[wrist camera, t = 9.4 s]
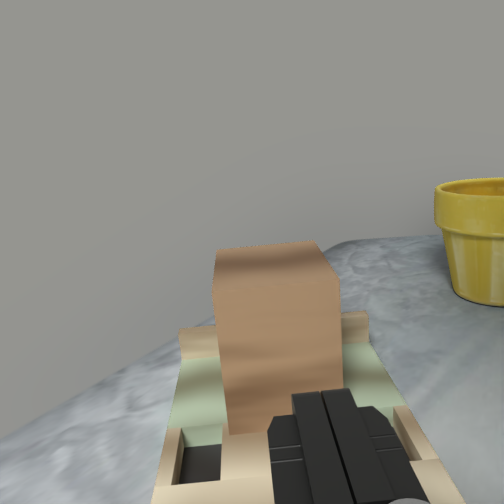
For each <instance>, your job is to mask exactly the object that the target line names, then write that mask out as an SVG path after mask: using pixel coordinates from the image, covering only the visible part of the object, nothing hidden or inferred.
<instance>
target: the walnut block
mask: <svg viewBox="0 0 504 504" xmlns="http://www.w3.org/2000/svg"><path fill="white" fill-rule="evenodd" d="M212 297H213V306H214V314H215V322H216V330H217V339H218V347H219V355H220V363H221V371H222V379H223V387H224V396H225V404H226V412H227V420H228V428H229V435H239V434H248V433H258V432H267V430H268V428H269V426H270V424H271V421H272V419H273V417H274V416H282V415H291V414H292V402H291V394H295V393H305V392H314V391H319V392H320V391H322V390H332V389H341V388H343V364H342V336H341V307H340V279H339V278H338V276H337V275H336V273H335V272H334V270H333V269H332V267H331V266H330V264H329V263H328V261H327V260H326V258H325V257H324V255H323V254H322V252H321V251H320V249H319V248H318V246H317V245H316V243H315V242H314V241H313V240H312V241H302V242H293V243H281V244H271V245H261V246H251V247H240V248H230V249H220V250H217V252H216V260H215V268H214V277H213V286H212Z"/></svg>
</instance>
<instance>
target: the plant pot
mask: <svg viewBox="0 0 504 504" xmlns="http://www.w3.org/2000/svg"><path fill="white" fill-rule="evenodd" d="M434 197H435V198H434V220H435V224H436V225H437V226H438V227H440V228H441V229H442V232H443V238H444V243H445V248H446V253H447V259H448V264H449V269H450V274H451V279H452V284H453V289H454V291H455V292H456V294H458V295H459V296H460V297H462V298H464V299H466V300H469V301H472V302H475V303H479V304H484V305H490V306H502V307H504V178H479V179H468V180H458V181H452V182H447V183H444V184H441V185H438V186H437V187H436V188H435V196H434Z"/></svg>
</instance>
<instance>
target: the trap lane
mask: <svg viewBox="0 0 504 504" xmlns="http://www.w3.org/2000/svg"><path fill="white" fill-rule="evenodd" d="M178 336H179V343H180V349H181V356H182V363H181V367H180V372H179V377H178V381H177V386H176V390H175V395H174V399H173V404H172V409H171V413H170V418H169V422H168V427H167V432H166V436H165V441H164V445H163V450H162V454H161V459H160V464H159V468H158V473H157V477H156V482H155V487H154V491H153V496H152V500H151V504H275V503H274V494H273V484H272V474H271V465H270V455H269V445H268V436H267V432H258V433H248V434H239V435H229V428H228V420H227V412H226V404H225V396H224V387H223V379H222V371H221V363H220V355H219V347H218V339H217V330H216V325H212V326H202V327H192V328H182V329H179V333H178ZM341 336H342V364H343V388H349V389H350V391H351V393H352V396H353V398H354V400H355V403H356V405H357V407H365V406H374V407H375V408H376V409H377V410H378V411H380V412H381V413H382V414H383V415H384V416H386V417H387V418H388V420H389V422H390V424H391V426H392V428H393V430H394V432H395V436H396V437H397V438H398V440H399V442H400V444H401V446H402V450H404V452H405V454H406V456H407V458H408V460H409V462H410V464H411V466H412V468H413V470H414V472H415V474H416V476H417V478H418V480H419V482H420V484H421V486H422V488H423V490H424V492H425V494H426V496H427V498H428V500H429V501H430V503H431V504H466V503H465V501H464V499H463V498H462V496H461V494H460V493H459V491H458V489H457V488H456V486H455V484H454V483H453V481H452V479H451V478H450V476H449V474H448V473H447V471H446V469H445V468H444V466H443V464H442V463H441V461H440V459H439V458H438V456H437V454H436V453H435V451H434V449H433V448H432V446H431V444H430V443H429V441H428V439H427V438H426V436H425V434H424V433H423V431H422V429H421V428H420V426H419V424H418V423H417V421H416V419H415V418H414V416H413V414H412V413H411V411H410V409H409V408H408V406H407V404H406V403H405V401H404V399H403V398H402V396H401V394H400V393H399V391H398V389H397V388H396V386H395V384H394V383H393V381H392V379H391V378H390V376H389V374H388V373H387V371H386V369H385V368H384V366H383V364H382V363H381V361H380V359H379V358H378V356H377V354H376V353H375V351H374V349H373V348H372V346H371V344H370V343H369V316H368V314H367V312H366V311H356V312H346V313H341Z"/></svg>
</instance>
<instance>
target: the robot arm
mask: <svg viewBox="0 0 504 504" xmlns="http://www.w3.org/2000/svg"><path fill="white" fill-rule="evenodd" d="M291 402H292V414H291V415H282V416H274V417H273V419H272V421H271V424H270V426H269V428H268V430H267V436H268V445H269V455H270V465H271V474H272V484H273V494H274V503H275V504H431V503H430V501H429V500H428V498H427V496H426V494H425V492H424V490H423V488H422V486H421V484H420V482H419V480H418V478H417V476H416V474H415V472H414V470H413V468H412V466H411V464H410V462H409V460H408V458H407V456H406V454H405V452H404V450H402V446H401V444H400V442H399V440H398V438H397V437H396V436H395V432H394V430H393V428H392V426H391V424H390V422H389V420H388V418H387V417H386V416H384V415H383V414H382V413H381V412H380V411H378V410H377V409H376V408H375V407H374V406H365V407H357V405H356V403H355V400H354V398H353V396H352V393H351V391H350V389H349V388H341V389H332V390H322V391H320V392H319V391H314V392H305V393H295V394H291Z"/></svg>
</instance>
